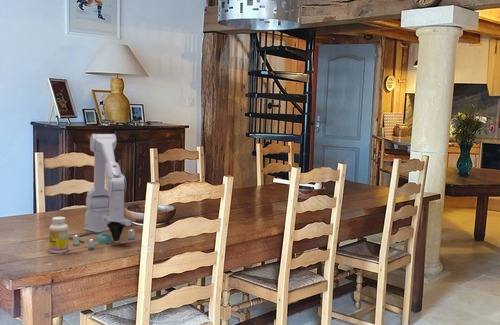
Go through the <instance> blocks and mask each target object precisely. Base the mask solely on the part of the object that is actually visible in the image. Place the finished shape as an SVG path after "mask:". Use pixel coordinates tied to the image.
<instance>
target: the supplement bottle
mask: <svg viewBox="0 0 500 325" xmlns="http://www.w3.org/2000/svg"><path fill="white" fill-rule="evenodd" d="M51 222H52V224H50V226H49V231H48V232H49V234H48V235H49V238H48V239H49V243H48V244H49V246H48V247H49V252H50V253H53V254H62V253H66V252H67V251H68V250H69V239H68V237H69V225H68V224H67V223H66V217H64V216H53V217H52V218H51Z"/></svg>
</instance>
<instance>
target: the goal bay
mask: <svg viewBox="0 0 500 325" xmlns="http://www.w3.org/2000/svg"><path fill="white" fill-rule="evenodd" d="M93 234H94V235H98V234H103V233H101V232H94V231H90V232H86V233H83V234H78V235H79V238H81V237H85V236H89V235H90V236H91V235H93ZM69 240H70V241H73V236H68V241H69ZM84 243H85V241H84V240H81V239H79V244H84Z"/></svg>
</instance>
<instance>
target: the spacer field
mask: <svg viewBox="0 0 500 325" xmlns="http://www.w3.org/2000/svg"><path fill="white" fill-rule="evenodd" d="M127 233H128V235H127V237H128V240H135V228H128V232H127ZM79 235H80V234H73V235H72V237H73V240H72V246H73V247H79V246H80V242H79V240H80V237H79ZM95 240H96V239H95V238H93V237H92V238H88V239H87V250H89V251H93V250H95Z"/></svg>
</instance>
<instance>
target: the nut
mask: <svg viewBox="0 0 500 325" xmlns="http://www.w3.org/2000/svg"><path fill="white" fill-rule="evenodd" d="M96 235H97V234H96ZM96 241H97V242H98V244H100V245H102V244H103V245H105V244H106V245H107V244H111V243H112V241H113V238H112V234H111V233H105V232H104V233H102V234H98V235H97V238H96ZM97 242H96V243H97Z"/></svg>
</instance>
